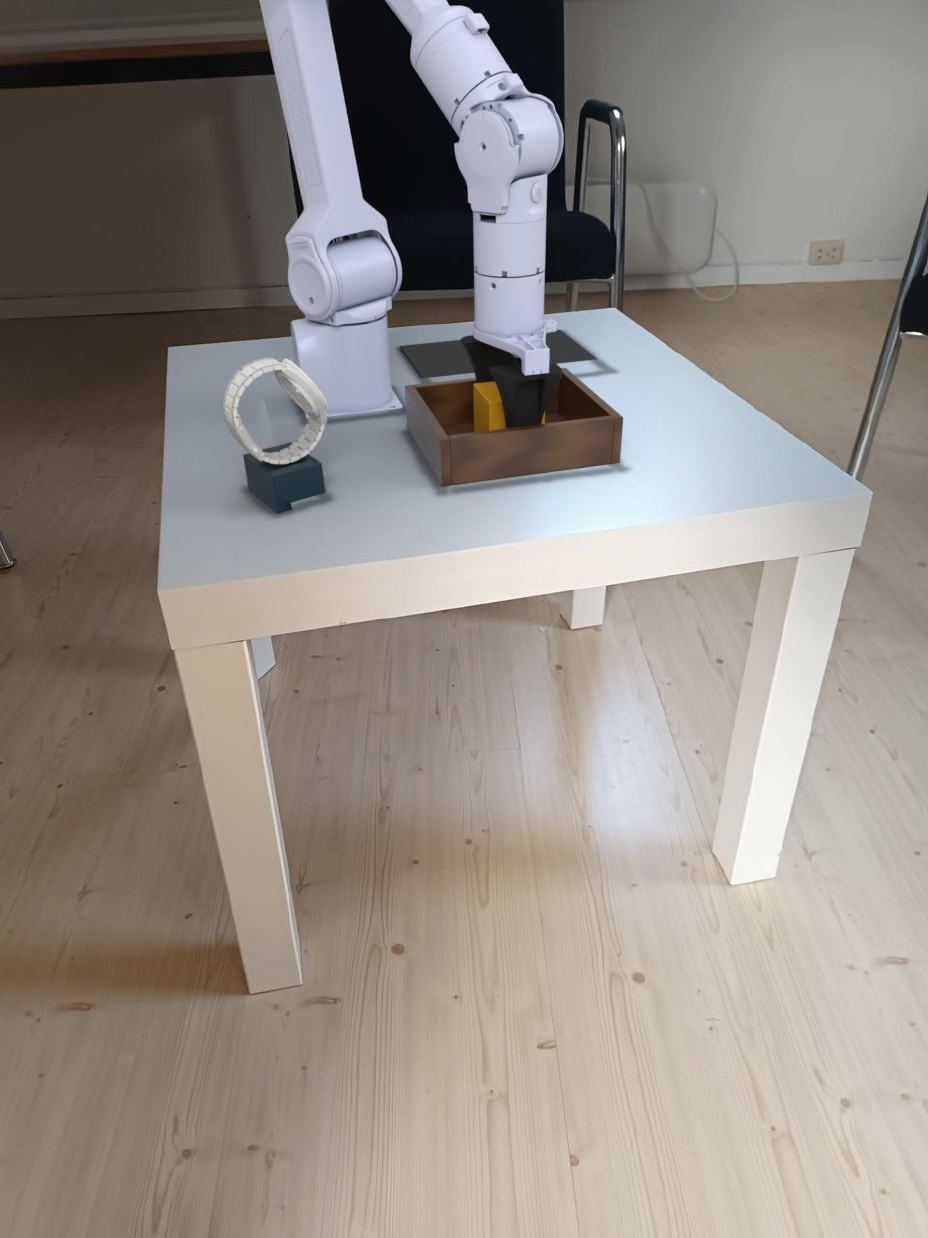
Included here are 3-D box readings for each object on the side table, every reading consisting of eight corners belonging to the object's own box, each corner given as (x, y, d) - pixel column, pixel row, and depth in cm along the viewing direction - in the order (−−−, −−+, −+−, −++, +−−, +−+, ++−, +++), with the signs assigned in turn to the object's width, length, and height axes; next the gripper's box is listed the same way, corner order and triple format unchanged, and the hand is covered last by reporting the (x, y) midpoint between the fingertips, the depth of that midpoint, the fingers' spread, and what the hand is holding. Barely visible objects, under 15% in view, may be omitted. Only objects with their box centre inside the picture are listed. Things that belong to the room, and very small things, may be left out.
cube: (489, 458, 80) (489, 402, 77) (473, 437, 84) (472, 383, 81) (544, 450, 81) (545, 395, 78) (526, 430, 85) (527, 377, 82)
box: (442, 493, 75) (440, 439, 73) (407, 433, 86) (404, 385, 84) (619, 468, 79) (623, 417, 76) (563, 414, 90) (565, 367, 87)
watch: (347, 492, 76) (333, 360, 70) (256, 519, 72) (234, 382, 66) (315, 470, 80) (300, 343, 74) (228, 494, 76) (205, 362, 70)
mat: (431, 392, 96) (431, 389, 95) (400, 348, 109) (399, 345, 108) (611, 371, 100) (611, 369, 100) (560, 331, 113) (560, 329, 113)
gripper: (589, 285, 69) (581, 455, 76) (528, 248, 81) (526, 398, 88) (499, 294, 67) (499, 466, 75) (450, 254, 79) (454, 406, 87)
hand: (508, 430), depth 81 cm, fingers open, 7 cm apart
